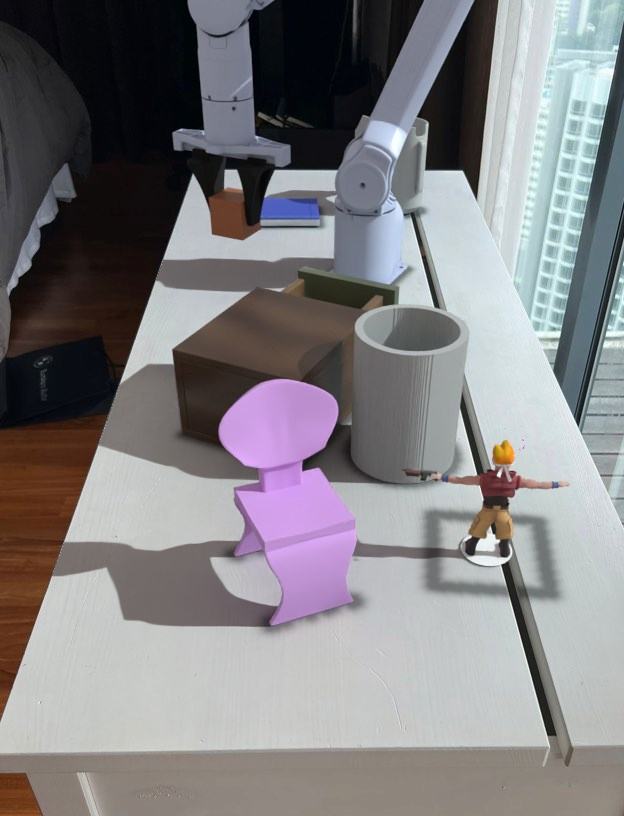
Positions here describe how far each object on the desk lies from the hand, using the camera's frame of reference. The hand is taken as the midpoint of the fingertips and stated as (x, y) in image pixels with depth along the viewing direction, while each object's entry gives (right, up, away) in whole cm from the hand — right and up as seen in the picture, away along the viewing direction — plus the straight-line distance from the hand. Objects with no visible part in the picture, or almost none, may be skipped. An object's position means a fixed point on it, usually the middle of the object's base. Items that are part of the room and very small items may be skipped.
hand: (235, 220), depth 102 cm
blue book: (+3, +7, +19) cm, 21 cm away
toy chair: (+9, -42, -40) cm, 58 cm away
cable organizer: (+20, +12, +24) cm, 33 cm away
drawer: (+12, -20, -15) cm, 27 cm away
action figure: (+23, -40, -37) cm, 59 cm away
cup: (+18, -31, -27) cm, 45 cm away
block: (0, -1, +1) cm, 1 cm away
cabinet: (+7, -27, -22) cm, 36 cm away
